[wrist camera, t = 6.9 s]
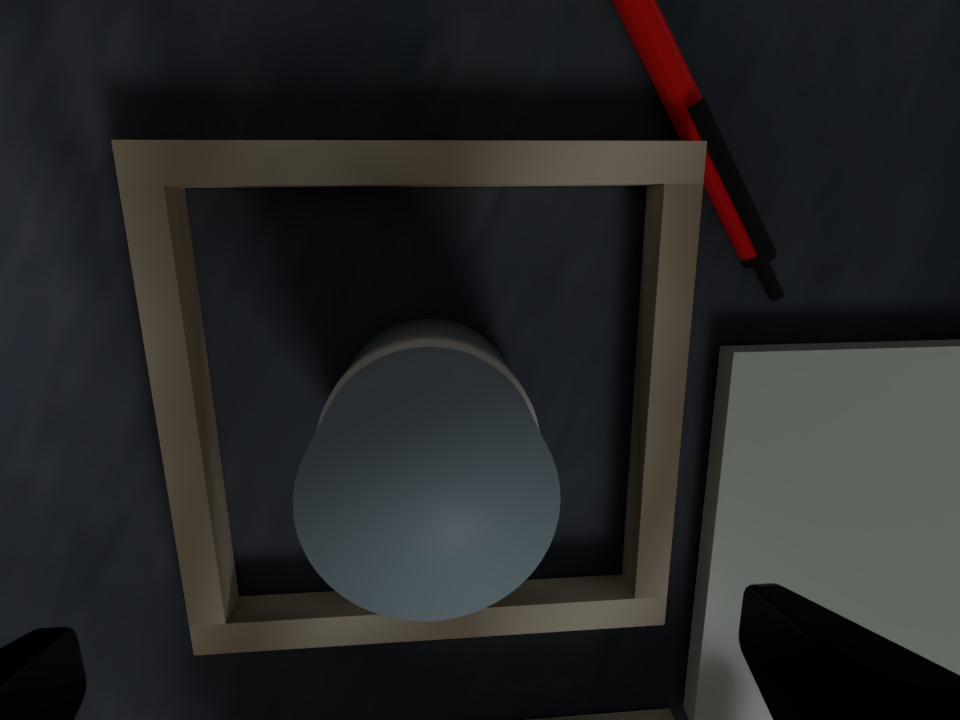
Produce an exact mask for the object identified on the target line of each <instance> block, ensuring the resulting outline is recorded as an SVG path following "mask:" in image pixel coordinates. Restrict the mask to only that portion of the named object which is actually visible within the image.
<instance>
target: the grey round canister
mask: <svg viewBox="0 0 960 720" xmlns="http://www.w3.org/2000/svg"><path fill="white" fill-rule="evenodd" d="M560 502H561V501H560V484H559V479H558V473H557V469H556V466H555V463H554V460H553V457H552V455H551V453H550V451H549V449H548V447H547V445H546V443H545V441H544V439H543V437H542V435H541V432H540V430H539V426H538V421H537V418H536V415H535V412H534V409H533V406H532V404H531V402H530V400H529V399H528V397H527V395H526V393H525V391H524V389H523V387H522V385H521V383H520V382H519V381H518V379H517V378H516V376H515V375H514V373H513V372H512V371H511V370H510V369H509V367H508V365H507V364H506V362H505V360H504V358H503V357H502V355H501V354H500V352H499V351H498V350H497V349H496V348H495V347H494V345H493V344H492V343H491V342H490V341H488V340H487V339H486V338H485V337H484V336H482V335H481V334H479V333H478V332H476V331H475V330H473V329H471V328H469V327H467V326H464V325H462V324H459V323H456V322H453V321H449V320H443V319H431V318H425V319H415V320H410V321H406V322H402V323H399V324H397V325H394V326H391V327H390V328H388V329H386V330H384V331H382V332H380V333H379V334H378V335H376V336H375V337H373V338H372V339H371V340H370V341H369V342H368V343H367V344H366V345H364V347H363V348H362V349H361V350H360V351H359V353H358V354H357V355H356V357H355V358H354V360H353V362H352V363H351V365H350V367H349V368H348V369H347V371H346V372H345V373H344V374H343V375H342V377H341V378H340V379H339V381H338V382H337V384H336V386H335V387H334V389H333V390H332V392H331V394H330V396H329V398H328V400H327V401H326V404H325V406H324V408H323V410H322V413H321V415H320V419H319V422H318V426H317V430H316V433H315V435H314V436H313V438H312V440H311V442H310V444H309V446H308V448H307V450H306V452H305V454H304V457H303V459H302V461H301V463H300V466H299V469H298V473H297V476H296V480H295V485H294V493H293V516H294V521H295V527H296V532H297V535H298V538H299V541H300V544H301V546H302V548H303V550H304V552H305V554H306V556H307V558H308V560H309V561H310V563H311V564H312V566H313V567H314V569H315V570H316V572H317V573H318V574H319V575H320V576H321V577H322V578H323V580H324V581H325V582H326V583H327V584H328V585H329V586H330V587H332V588H333V589H334V590H335V591H336V592H338V593H339V594H340V595H341V596H343V597H344V598H346V599H348V600H349V601H351V602H352V603H354V604H356V605H358V606H360V607H362V608H364V609H366V610H368V611H371V612H374V613H377V614H379V615H382V616H386V617H390V618H395V619H399V620H408V621H439V620H448V619H453V618H457V617H461V616H466V615H468V614H471V613H474V612H477V611H480V610H482V609H484V608H486V607H488V606H490V605H492V604H494V603H496V602H498V601H499V600H501V599H502V598H504V597H506V596H507V595H509V594H510V593H511V592H512V591H514V590H515V589H516V588H517V587H519V586H520V585H521V584H522V583H523V582H524V581H525V580H526V579H527V578H528V577H529V576H530V575H531V574H532V573H533V571H534V570H535V569H536V567H537V566H538V565H539V563H540V562H541V561H542V559H543V557H544V555H545V554H546V552H547V550H548V548H549V546H550V544H551V541H552V539H553V536H554V534H555V531H556V527H557V523H558V519H559V511H560Z"/></svg>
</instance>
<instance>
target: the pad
mask: <svg viewBox="0 0 960 720" xmlns="http://www.w3.org/2000/svg"><path fill="white" fill-rule="evenodd" d="M765 583H776V584H779V585H781V586H783V587H785V588H787V589H789V590H791V591H793V592H795V593H797V594H799V595H801V596H803V597H805V598H807V599H809V600H811V601H813V602H815V603H817V604H819V605H821V606H823V607H825V608H827V609H829V610H831V611H833V612H835V613H837V614H839V615H841V616H843V617H845V618H847V619H849V620H851V621H853V622H855V623H857V624H859V625H861V626H863V627H865V628H867V629H869V630H871V631H873V632H875V633H877V634H879V635H881V636H883V637H885V638H887V639H889V640H891V641H893V642H895V643H897V644H899V645H901V646H903V647H905V648H907V649H909V650H911V651H913V652H915V653H917V654H919V655H921V656H923V657H925V658H927V659H929V660H931V661H933V662H935V663H936V664H938V665H940V666H942V667H944V668H946V669H948V670H950V671H952V672H954V673H956V674H958V675H960V340H923V341H886V342H848V343H811V344H773V345H736V346H720V351H719V361H718V371H717V380H716V390H715V400H714V410H713V420H712V429H711V439H710V449H709V459H708V469H707V478H706V488H705V498H704V508H703V517H702V527H701V537H700V547H699V557H698V566H697V576H696V586H695V596H694V605H693V615H692V625H691V635H690V645H689V654H688V664H687V674H686V684H685V694H684V703H683V708H684V710H685V712H686V714H687V716H688V718H689V720H773V719H772V717H771V714H770V712H769V710H768V708H767V706H766V704H765V701H764V699H763V697H762V695H761V693H760V691H759V689H758V686H757V684H756V682H755V680H754V678H753V676H752V673H751V671H750V669H749V667H748V665H747V663H746V660H745V658H744V656H743V654H742V651H741V648H740V644H739V636H738V634H739V624H740V616H741V608H742V600H743V594H744V591H745V589H746V587H747V586H749V585H751V584H765Z"/></svg>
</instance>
